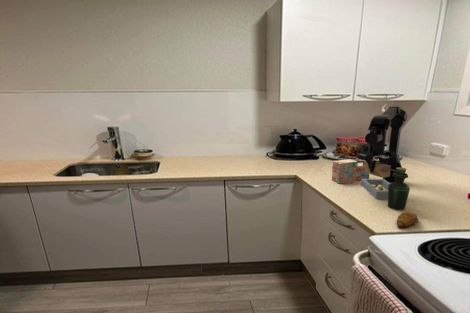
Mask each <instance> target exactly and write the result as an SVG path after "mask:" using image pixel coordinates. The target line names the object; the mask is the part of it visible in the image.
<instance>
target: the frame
mask: <svg viewBox="0 0 470 313" xmlns="http://www.w3.org/2000/svg"><path fill="white" fill-rule="evenodd" d="M389 184H390V183H389V182H387V181H386V180H384V179H383V178H369V179H361V181H360V185H361V187H363V189H365V190H366V191H367V192H368V193H369V194H370V195H371V196H372V197H373V198H374V199H375V200H388V185H389ZM376 187H377V188H376ZM383 188H384V189H385V190H384V189H383Z"/></svg>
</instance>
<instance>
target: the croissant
mask: <svg viewBox="0 0 470 313" xmlns="http://www.w3.org/2000/svg"><path fill="white" fill-rule="evenodd" d="M419 220H420V219H419V218H418V216H417V214H415V213H412V212H410V211H404V212H401V213H400V214H399V215H398V216H397V220H396V226H397V228H399V229H405V228H406V229H407V228H409V227H412V226H414V225H416V224H417V223H419Z"/></svg>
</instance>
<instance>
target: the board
mask: <svg viewBox="0 0 470 313" xmlns="http://www.w3.org/2000/svg"><path fill="white" fill-rule="evenodd" d="M362 163H363V167H362V172H365V173H369V175H372V176H376V177H378V178H380V179H383V178H384V177H389V176H390V170H391V165H387V164H383V163H379V161H376V164H375V167H374V170H373V172H372V173H371V172H370V170H369V166H368V164H367V162H366V161H364V160H362Z"/></svg>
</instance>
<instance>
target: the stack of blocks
mask: <svg viewBox="0 0 470 313" xmlns="http://www.w3.org/2000/svg"><path fill="white" fill-rule="evenodd" d="M331 167H332V168H331V171H332V174H331V181H332V182H334V183H337V184H346V183H347V184H348V183H354V182H361V179H370V174H369V173H365V172H362V167H363V162H358V161H357V160H354V159H341V160H340V159H339V160H333V161H332V166H331Z"/></svg>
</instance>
